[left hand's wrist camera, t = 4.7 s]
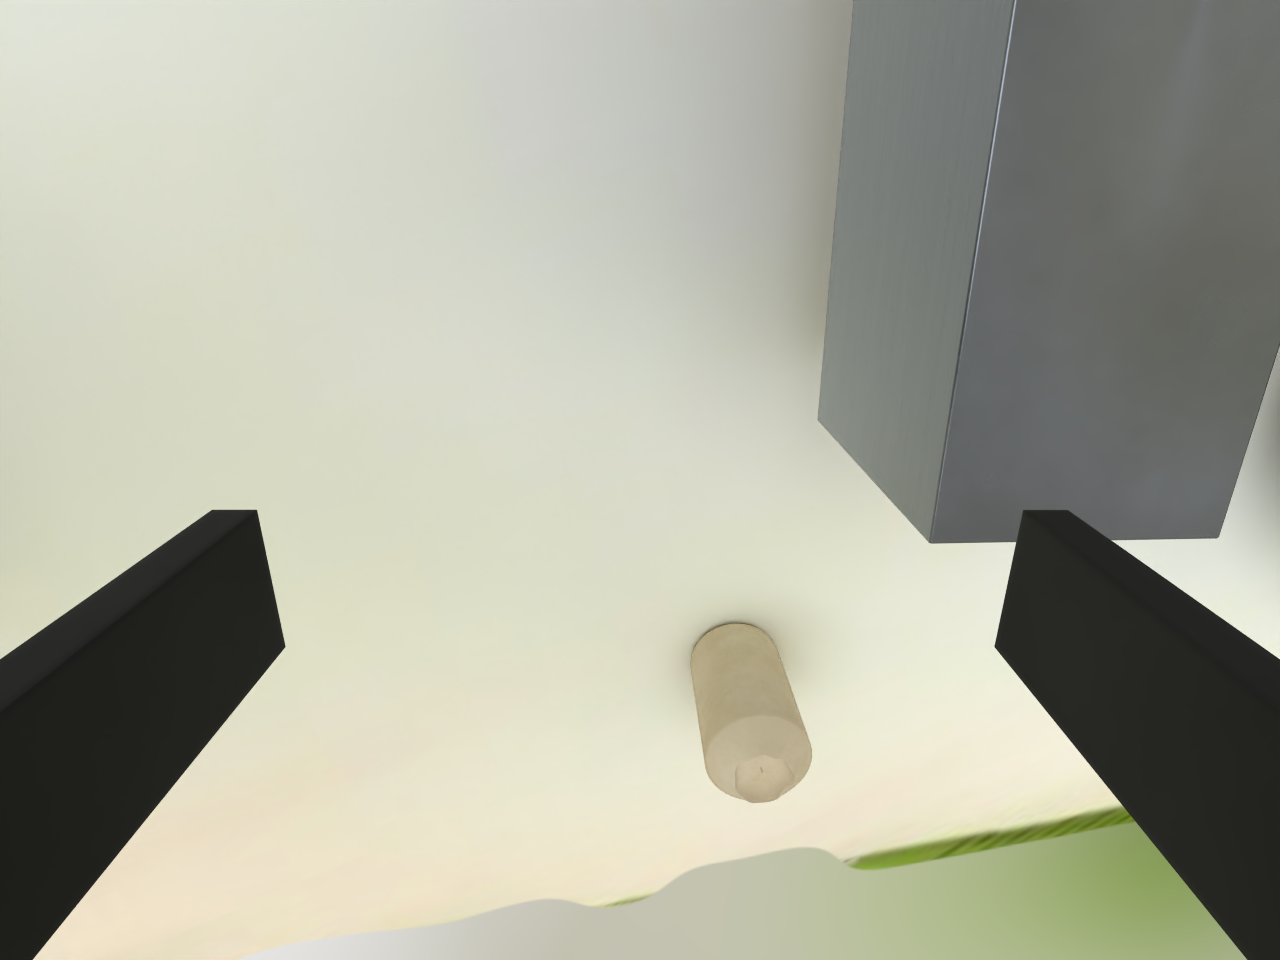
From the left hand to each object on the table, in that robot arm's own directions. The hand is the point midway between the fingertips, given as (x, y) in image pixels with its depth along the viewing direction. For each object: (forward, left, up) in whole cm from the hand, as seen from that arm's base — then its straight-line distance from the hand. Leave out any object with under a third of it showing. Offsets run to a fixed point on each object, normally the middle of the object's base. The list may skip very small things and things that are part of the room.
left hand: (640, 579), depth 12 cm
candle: (-15, -16, -27) cm, 34 cm away
